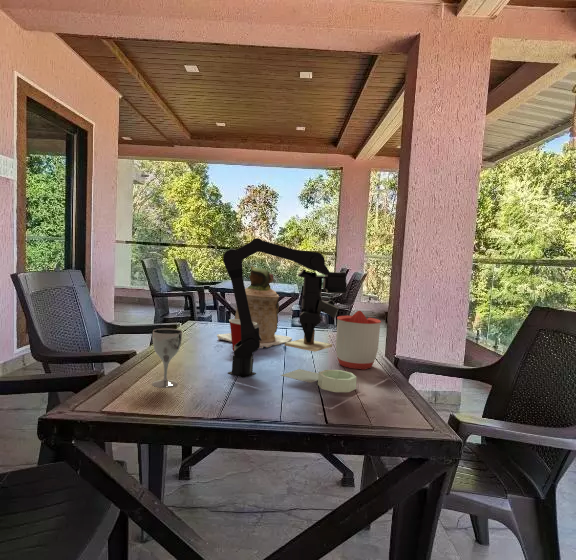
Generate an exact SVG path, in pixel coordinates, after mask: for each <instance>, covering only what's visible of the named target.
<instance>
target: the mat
mask: <svg viewBox="0 0 576 560" xmlns="http://www.w3.org/2000/svg"><path fill="white" fill-rule="evenodd" d="M318 374H319V372H315V371H314V372H313V371H310V370H306V369H302V368H298V369H294V370H292V371H290V372H286V373H283V374H281V375H280V376H281V377H285V378H290V379H293V380H298V381H302V382H306V383H309V384H311V383H314V382H318Z"/></svg>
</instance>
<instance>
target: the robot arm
mask: <svg viewBox="0 0 576 560" xmlns="http://www.w3.org/2000/svg"><path fill="white" fill-rule="evenodd" d="M257 252H259V253H262V254H268V255H270V256H274V257H277V258H281V259H285V260H288V261H292V262H294V263H296V264H298V265H300V266H302V267H304V268H305V269H302V270H301V271H300V272H299V273H298V274H297V276H298V277H299V278H303V287H302V301H301V303H302V304H301V312H300V314H299V323H300V324H301V325H300V326H301V328H302V331H303V335H304V334H305V338H306V341H307V342H308V343H310V342H311V339H312V335H313V331H314V330H315V327H317V326H318V325H320V324H322V323H321V321H322V315H321V314H322V313H324V314H326V315H328V316H330V317H331V318H336V315H337V313H338V311H339V306H337V305H336V304H335V301H333V300H331V299H329V300H328V301H325V300H323V296H322V291H323V290H325V292H326V294H341V295H342V294H343V295H345V294H346V291H347V288H348V287H347V286H348V283H347V278H346V272H345V271H339V272H337V271H336V272H335V271H330V270H329V268H328V267H327V265H326V264H325V262H326V261H325V256H324V255H323V254H322V253H320V252H317V251H309V250H308V251H306V250H301V249H300V250H298V249H294V248H290V247H287V246H283V245H280V244H277V243H273V242H269V241H265V240H263V239H261V238H253V239H252V240H251V241H250V242H248V243H246V244H245V245H243V246H241V247H239V248H237V249H235V248H230V249H228V250H227V251H225V252H224V254H223V256H222V262H223V264H224V266H225V269H226V271H227V274H228V276H229V279H230V280H231V286H232V290H233V291H232V292H233V294H234V295H233V296H234V299H235V303H236V309H237V310H238V314H239V319H240V324H241V340H240V341H239V342H238V343H237V344H236V345H234V352H233V353H234V354H233V355H232V361H231V362H232V363H231V364H232V365H231V371H229V372H227V374H228V375H231V376H235V377H239V378H243V379H244V378H247V377H251V376H254V375H256V374H257V373H256V372H254V371H253V370H254V369H253V368H254V367H253V366H254V353H255V352H256V351H258V349H260V348H259V347H260V341H262V339H261V335H260V334H259V326H258V325H255V326H254V324H253V322H252V319H251V315H250V310H249V305H248V300H247V296H246V291H245V289H246V287H245V282H244V277H243V260H245V259H247V258H249V257H250V256H252V255H254V254H255V253H257ZM306 269H309V270H310V271H312V272H310V271H306ZM316 272H317V273H319V274H322V275H317V273H316ZM322 289H323V290H322ZM259 340H260V341H259Z"/></svg>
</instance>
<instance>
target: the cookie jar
mask: <svg viewBox="0 0 576 560" xmlns="http://www.w3.org/2000/svg"><path fill="white" fill-rule="evenodd" d="M248 278H249V281H250V285H249V286H247V287H245V291H246V296H247V300H248V305H249V310H250V315H251V319H252V322H256V323H257V325H258V326H259V334H260V335H261V339H262V341H260V340H259V341H260V347H259V348H258V349H260V348H262V349H263V348H271V347H272V346H278V345H282V344H285V343H287V342H291V341H293V337H291V336H287V335H281V334H276V333H277V331H278V324H279V316H278V315H279V308H280V303H279V298H280V296H279V294H278V293H277V292H276V291H275V290H274V289H272V288H271V283H273V281H274V280H275V278H274V274H272V273H270V272H269V270H268V269H266V268H262V267H261V268H260V267H255V266H253V265H250V275H249V276H248ZM234 319H239V314H238V310H237V308H236V311H235V315H234ZM216 337H217V339H218V340H219V341H220V340H223V341H226V342H227V341H228V342H231V343H232V338H231V332H230V333H220V334H216ZM218 340H217V341H218Z"/></svg>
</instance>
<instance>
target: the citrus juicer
mask: <svg viewBox="0 0 576 560" xmlns="http://www.w3.org/2000/svg"><path fill="white" fill-rule="evenodd" d="M336 319H337V320H336V321H337V322H336V325H337V326H336V336H335V351H336V356H337V357H336V358H337V360H338V364H339V365H340V366H341V367H344V368H350V369H354V370H355V369H356V370H363V371H365V370H367V369H368V370H369V369H371V368H372V367H373V365H374V363H375V360H376V358H377V354H378V350H379V343H380V330H381V327H380V326H381V323H382V321H381V320H380V319H379V318H374V317H368V318H367V317H366V315H365V314H364V313H363V312H362V310H357V311H356V312H355V313H354V314H353V315H339V316H337V318H336Z"/></svg>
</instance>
